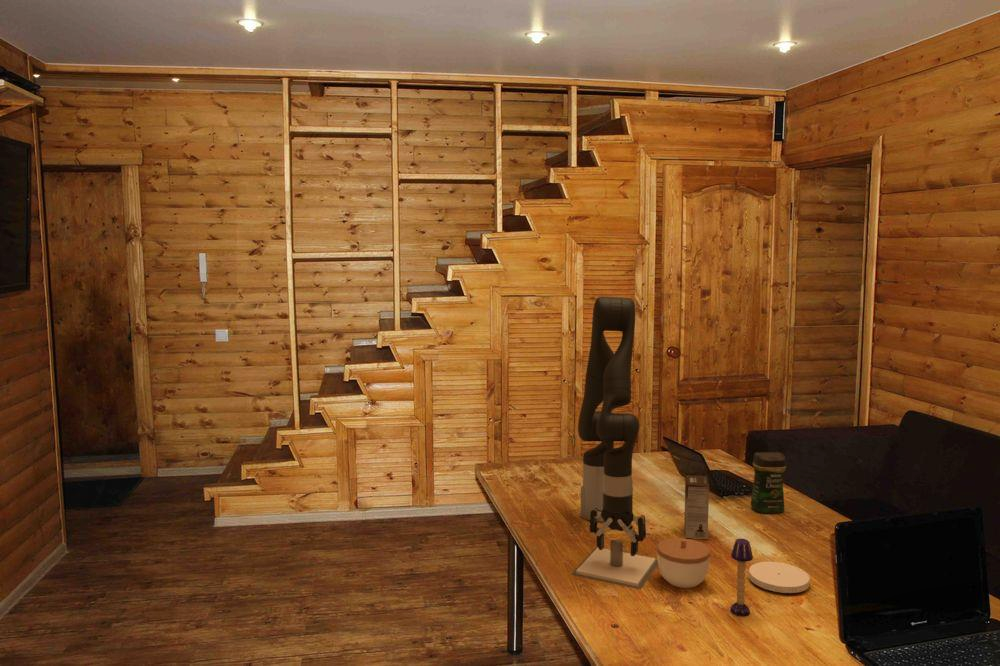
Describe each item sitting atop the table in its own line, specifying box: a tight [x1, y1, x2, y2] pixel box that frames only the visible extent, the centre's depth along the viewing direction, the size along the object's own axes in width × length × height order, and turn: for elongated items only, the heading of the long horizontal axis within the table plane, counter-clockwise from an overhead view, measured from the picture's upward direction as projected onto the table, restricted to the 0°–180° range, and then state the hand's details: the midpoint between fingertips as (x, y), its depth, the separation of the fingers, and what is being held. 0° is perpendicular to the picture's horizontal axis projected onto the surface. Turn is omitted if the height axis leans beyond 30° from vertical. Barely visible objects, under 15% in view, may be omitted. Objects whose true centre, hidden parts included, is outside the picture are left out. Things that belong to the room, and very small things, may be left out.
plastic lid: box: [748, 561, 811, 594], centre depth 176 cm, size 14×14×2 cm
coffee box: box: [684, 474, 710, 540], centre depth 206 cm, size 9×6×16 cm
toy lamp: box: [730, 538, 754, 617], centre depth 162 cm, size 5×5×17 cm
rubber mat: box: [570, 547, 659, 590], centre depth 184 cm, size 18×18×1 cm
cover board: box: [575, 539, 657, 587], centre depth 184 cm, size 16×16×7 cm
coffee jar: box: [750, 451, 787, 514], centre depth 224 cm, size 10×8×19 cm
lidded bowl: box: [656, 537, 711, 589], centre depth 176 cm, size 13×13×11 cm
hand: (617, 552), depth 184 cm, fingers open, 8 cm apart
